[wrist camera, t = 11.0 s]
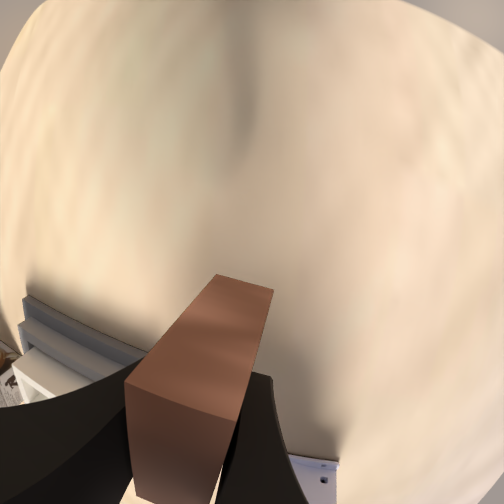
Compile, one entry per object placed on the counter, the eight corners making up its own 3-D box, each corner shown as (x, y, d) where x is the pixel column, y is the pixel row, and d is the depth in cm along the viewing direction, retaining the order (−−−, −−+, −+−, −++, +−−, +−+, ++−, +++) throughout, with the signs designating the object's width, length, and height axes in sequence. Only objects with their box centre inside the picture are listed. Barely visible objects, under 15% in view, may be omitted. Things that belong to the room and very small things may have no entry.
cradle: (220, 378, 21) (209, 404, 18) (202, 458, 24) (193, 480, 22) (28, 295, 23) (8, 306, 20) (45, 383, 26) (30, 396, 24)
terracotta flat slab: (274, 289, 10) (236, 421, 4) (243, 397, 11) (203, 520, 6) (216, 273, 10) (124, 381, 4) (196, 383, 12) (136, 496, 6)
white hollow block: (44, 338, 23) (11, 363, 18) (174, 401, 21) (149, 445, 16) (53, 379, 24) (25, 405, 19) (170, 438, 23) (150, 477, 18)
